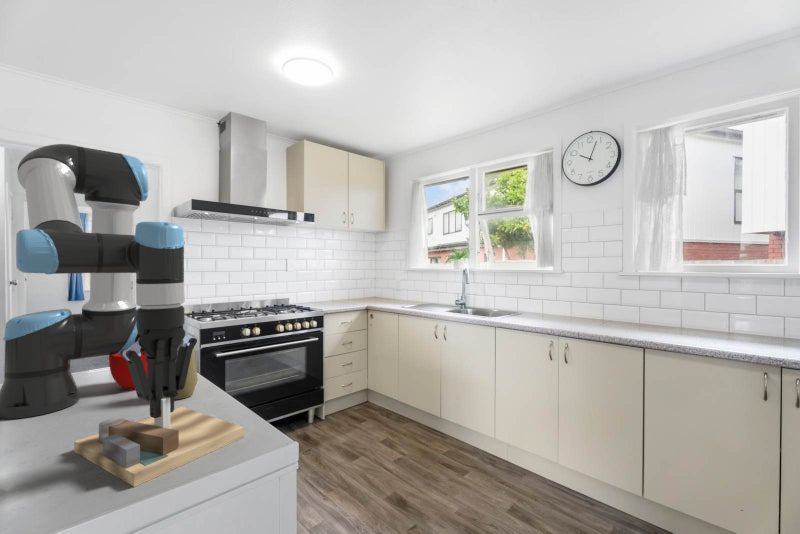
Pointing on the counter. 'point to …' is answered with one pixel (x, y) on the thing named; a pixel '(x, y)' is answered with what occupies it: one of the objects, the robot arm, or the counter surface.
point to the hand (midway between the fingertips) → (162, 432)
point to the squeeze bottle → (189, 379)
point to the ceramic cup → (123, 370)
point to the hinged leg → (141, 435)
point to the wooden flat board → (141, 466)
